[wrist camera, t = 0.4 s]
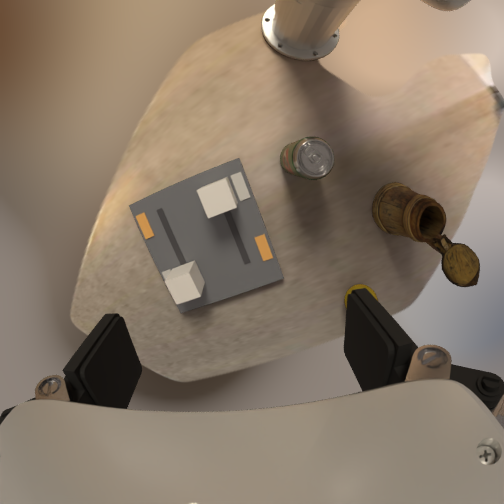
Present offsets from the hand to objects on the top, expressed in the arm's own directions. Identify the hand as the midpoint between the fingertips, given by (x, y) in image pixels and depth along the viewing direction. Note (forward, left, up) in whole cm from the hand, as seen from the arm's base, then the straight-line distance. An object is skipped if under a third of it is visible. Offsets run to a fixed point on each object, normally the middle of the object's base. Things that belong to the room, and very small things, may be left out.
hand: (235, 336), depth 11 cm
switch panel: (+3, -7, -33) cm, 34 cm away
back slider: (+7, -12, -32) cm, 34 cm away
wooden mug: (+11, +25, -34) cm, 43 cm away
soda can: (-4, +10, -34) cm, 35 cm away
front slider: (-3, -2, -31) cm, 32 cm away
